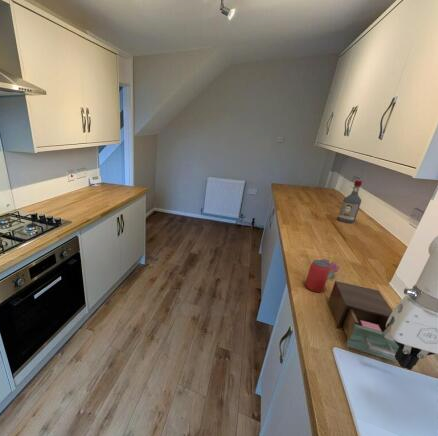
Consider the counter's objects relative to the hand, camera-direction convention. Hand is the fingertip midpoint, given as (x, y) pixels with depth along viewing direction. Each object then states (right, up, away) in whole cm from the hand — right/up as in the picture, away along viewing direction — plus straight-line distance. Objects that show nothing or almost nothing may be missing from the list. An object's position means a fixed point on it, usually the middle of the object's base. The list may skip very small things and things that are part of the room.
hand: (402, 363), depth 56 cm
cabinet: (+12, -1, +27) cm, 30 cm away
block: (+8, -3, +17) cm, 19 cm away
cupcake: (+22, +8, +53) cm, 58 cm away
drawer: (+7, -4, +17) cm, 19 cm away
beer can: (+10, +5, +44) cm, 46 cm away
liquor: (+88, +32, +120) cm, 152 cm away
